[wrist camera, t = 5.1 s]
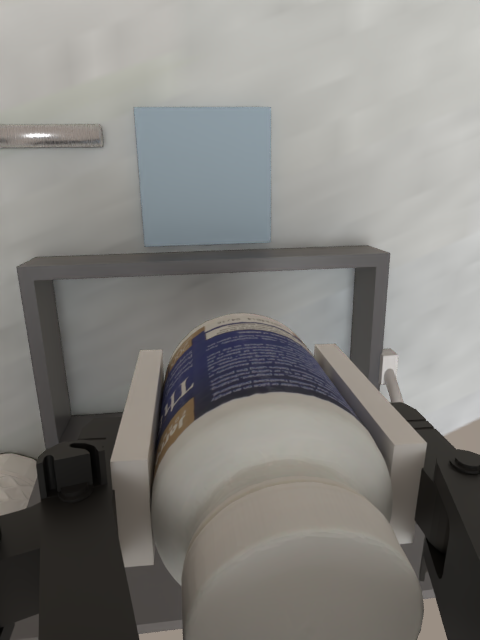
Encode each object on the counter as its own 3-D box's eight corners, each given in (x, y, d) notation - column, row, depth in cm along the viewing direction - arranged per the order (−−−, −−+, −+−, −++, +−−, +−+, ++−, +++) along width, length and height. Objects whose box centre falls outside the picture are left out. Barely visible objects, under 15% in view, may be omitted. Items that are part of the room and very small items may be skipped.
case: (65, 459, 33) (-18, 656, 19) (35, 256, 29) (-99, 325, 15) (367, 435, 35) (482, 594, 22) (380, 245, 31) (535, 294, 17)
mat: (145, 245, 29) (144, 246, 29) (134, 108, 27) (133, 107, 26) (268, 241, 30) (270, 242, 29) (268, 108, 28) (270, 107, 27)
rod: (-39, 148, 26) (-49, 147, 25) (-43, 126, 26) (-53, 123, 25) (103, 147, 27) (100, 145, 26) (101, 125, 27) (98, 123, 26)
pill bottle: (159, 312, 15) (119, 507, 6) (313, 306, 16) (488, 476, 7) (168, 451, 17) (148, 772, 8) (308, 441, 18) (445, 729, 8)
